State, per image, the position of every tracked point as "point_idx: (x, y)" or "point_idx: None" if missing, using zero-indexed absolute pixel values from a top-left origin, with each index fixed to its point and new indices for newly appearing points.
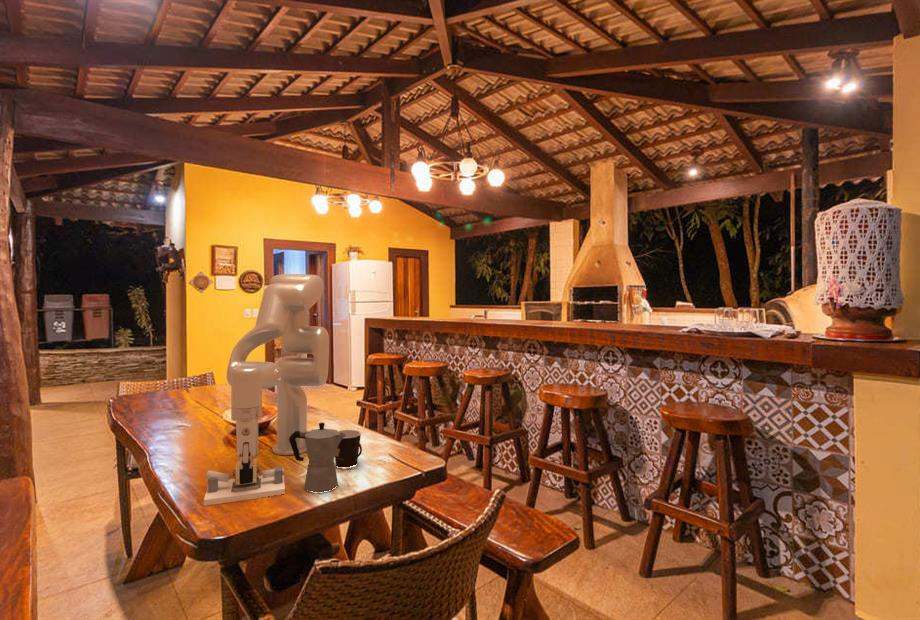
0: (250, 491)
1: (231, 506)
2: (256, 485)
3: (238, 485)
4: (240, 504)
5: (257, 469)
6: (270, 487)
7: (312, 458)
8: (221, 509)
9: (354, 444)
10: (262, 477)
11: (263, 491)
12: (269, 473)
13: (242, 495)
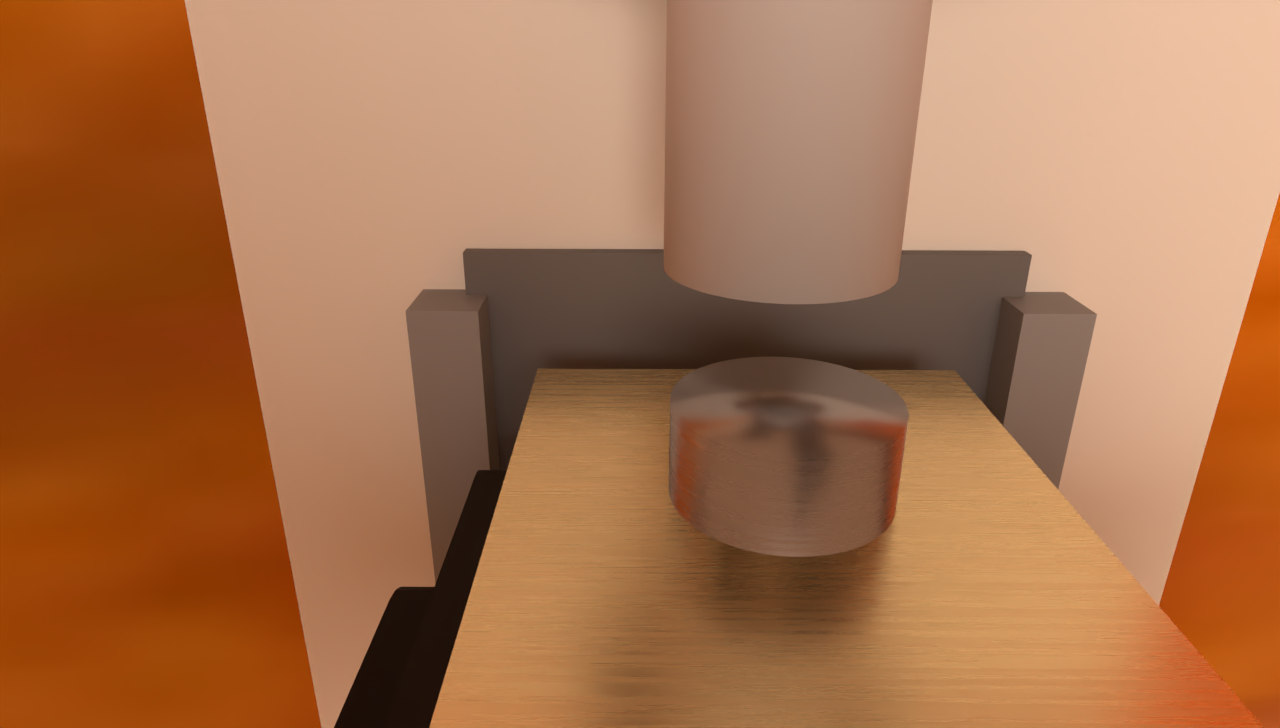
0: (1099, 434)
1: (1244, 622)
2: (1026, 354)
3: None
4: (1253, 516)
5: (895, 502)
6: (1110, 21)
7: None
8: (1263, 723)
9: None
10: (372, 212)
11: (1266, 186)
12: (920, 59)
13: (1166, 547)
